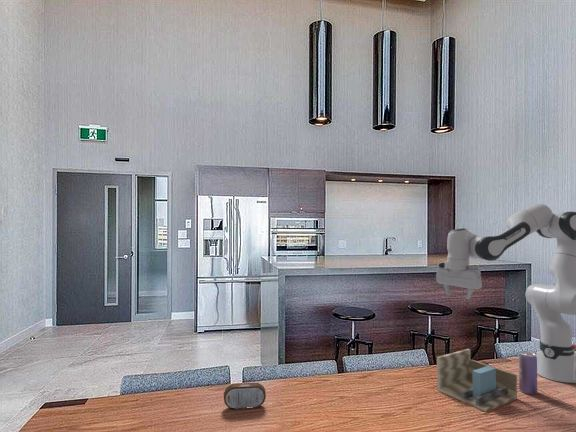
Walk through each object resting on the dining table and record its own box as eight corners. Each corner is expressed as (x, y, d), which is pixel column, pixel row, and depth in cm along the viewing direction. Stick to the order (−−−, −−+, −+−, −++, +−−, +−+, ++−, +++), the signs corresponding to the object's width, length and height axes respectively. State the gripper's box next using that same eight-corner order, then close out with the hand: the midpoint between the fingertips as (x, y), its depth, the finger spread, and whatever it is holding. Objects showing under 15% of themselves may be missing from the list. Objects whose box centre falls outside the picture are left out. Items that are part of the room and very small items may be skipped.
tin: (265, 404, 135) (265, 381, 135) (266, 408, 132) (266, 384, 132) (223, 407, 132) (223, 383, 133) (223, 411, 129) (223, 387, 130)
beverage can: (540, 395, 142) (539, 356, 142) (523, 394, 143) (522, 355, 144) (533, 389, 148) (532, 351, 148) (516, 387, 149) (516, 350, 149)
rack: (468, 379, 157) (467, 348, 157) (516, 398, 140) (516, 364, 140) (437, 389, 147) (436, 357, 147) (485, 412, 129) (485, 374, 130)
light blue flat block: (488, 391, 143) (488, 365, 143) (496, 394, 140) (495, 368, 141) (472, 397, 138) (472, 370, 138) (480, 401, 135) (480, 373, 136)
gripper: (485, 267, 155) (485, 300, 155) (442, 262, 173) (443, 292, 173) (475, 268, 152) (476, 301, 152) (434, 263, 170) (434, 293, 170)
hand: (458, 296), depth 162 cm, fingers open, 8 cm apart
